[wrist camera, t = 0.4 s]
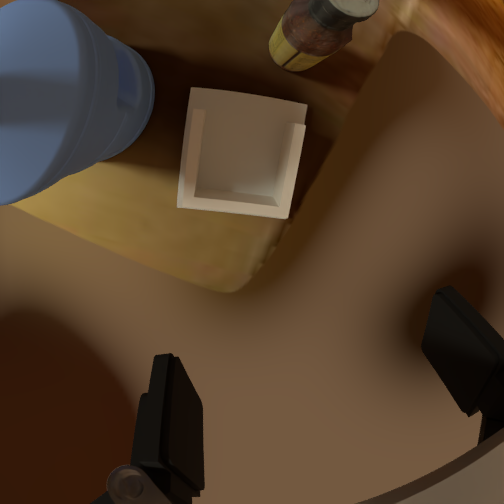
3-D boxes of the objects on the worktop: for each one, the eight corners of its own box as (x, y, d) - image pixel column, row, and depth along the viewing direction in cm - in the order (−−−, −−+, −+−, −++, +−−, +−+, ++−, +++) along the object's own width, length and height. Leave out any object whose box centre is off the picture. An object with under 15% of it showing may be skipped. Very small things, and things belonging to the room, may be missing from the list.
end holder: (191, 88, 31) (187, 82, 26) (304, 105, 34) (319, 103, 29) (177, 204, 38) (171, 219, 32) (283, 216, 40) (293, 232, 35)
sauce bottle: (323, 47, 30) (413, 2, 13) (299, 82, 32) (379, 55, 15) (280, 19, 28) (338, -54, 11) (254, 55, 30) (294, -5, 13)
